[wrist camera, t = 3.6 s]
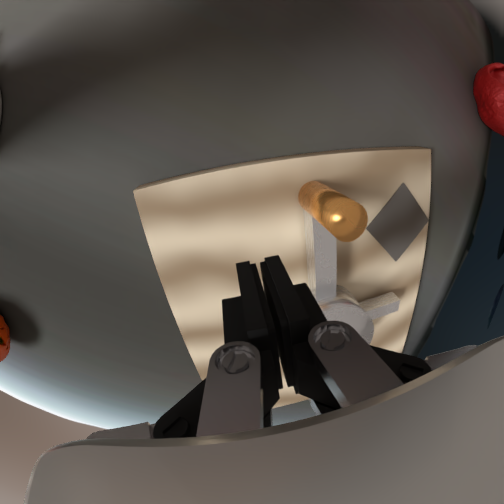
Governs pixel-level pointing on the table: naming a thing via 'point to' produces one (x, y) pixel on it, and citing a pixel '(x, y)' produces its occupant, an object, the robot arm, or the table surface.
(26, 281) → the table surface
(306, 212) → the cylinder
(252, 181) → the wooden board
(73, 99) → the table surface
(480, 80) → the pomegranate
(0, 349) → the pumpkin
